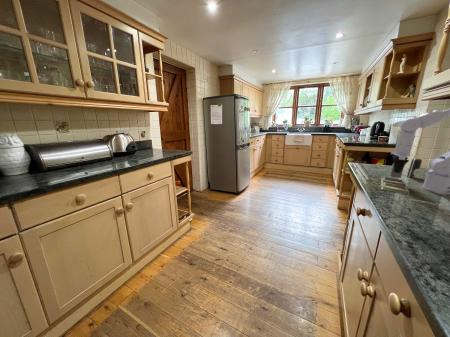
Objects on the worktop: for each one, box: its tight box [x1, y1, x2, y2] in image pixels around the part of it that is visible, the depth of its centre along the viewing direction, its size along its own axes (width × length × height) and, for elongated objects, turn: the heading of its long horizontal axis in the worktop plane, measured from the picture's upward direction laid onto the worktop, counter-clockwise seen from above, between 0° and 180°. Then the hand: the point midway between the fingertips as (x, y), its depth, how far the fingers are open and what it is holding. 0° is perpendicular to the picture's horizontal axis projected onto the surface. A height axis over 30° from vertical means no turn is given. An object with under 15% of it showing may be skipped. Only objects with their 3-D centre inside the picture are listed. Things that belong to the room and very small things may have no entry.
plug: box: [389, 162, 405, 179], centre depth 95 cm, size 4×4×6 cm
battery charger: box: [406, 157, 423, 179], centre depth 106 cm, size 7×4×11 cm, turn 129°
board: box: [380, 176, 410, 196], centre depth 92 cm, size 21×10×2 cm, turn 141°
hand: (396, 171), depth 95 cm, fingers closed on plug, 4 cm apart
